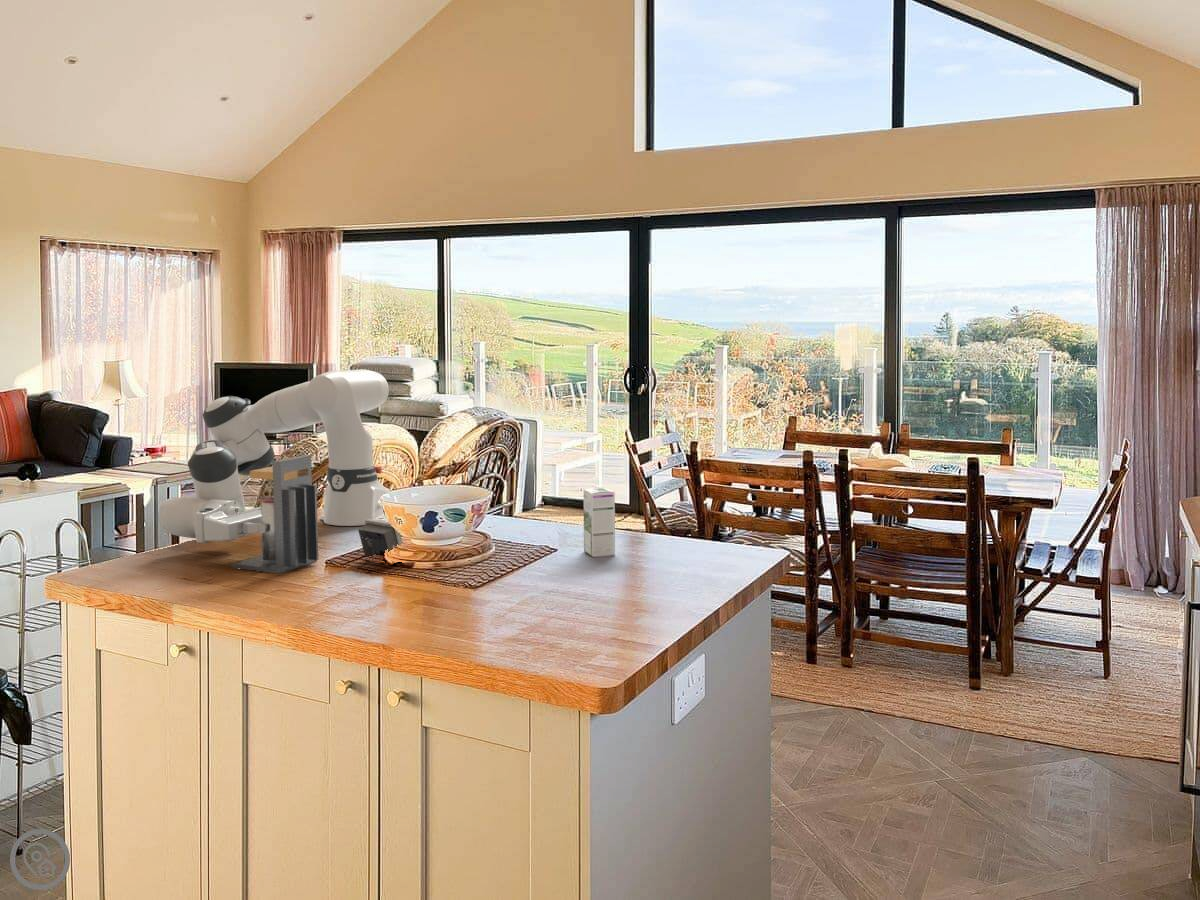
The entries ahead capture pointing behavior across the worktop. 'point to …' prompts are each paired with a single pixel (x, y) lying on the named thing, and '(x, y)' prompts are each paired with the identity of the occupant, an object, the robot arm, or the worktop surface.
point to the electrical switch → (378, 537)
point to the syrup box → (599, 522)
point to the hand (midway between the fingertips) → (277, 525)
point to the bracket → (290, 516)
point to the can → (269, 537)
